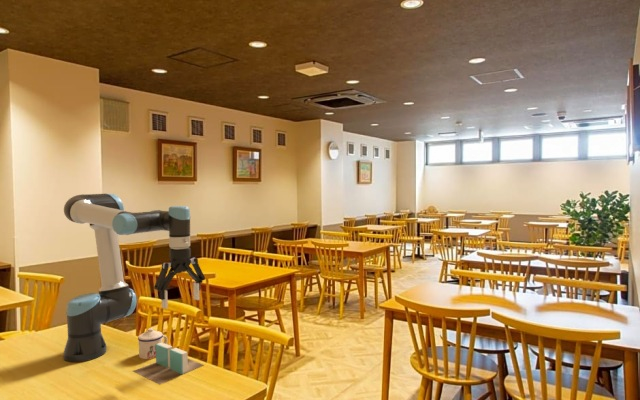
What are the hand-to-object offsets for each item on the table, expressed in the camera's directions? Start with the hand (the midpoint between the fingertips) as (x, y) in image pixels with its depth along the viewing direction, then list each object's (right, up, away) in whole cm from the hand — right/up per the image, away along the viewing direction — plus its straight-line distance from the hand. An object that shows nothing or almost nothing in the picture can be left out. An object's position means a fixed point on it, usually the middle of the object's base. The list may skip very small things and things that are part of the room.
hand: (181, 303), depth 159 cm
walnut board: (-2, -23, -6) cm, 24 cm away
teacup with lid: (-13, -23, +8) cm, 28 cm away
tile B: (+2, -22, -8) cm, 23 cm away
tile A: (-5, -22, -3) cm, 22 cm away
